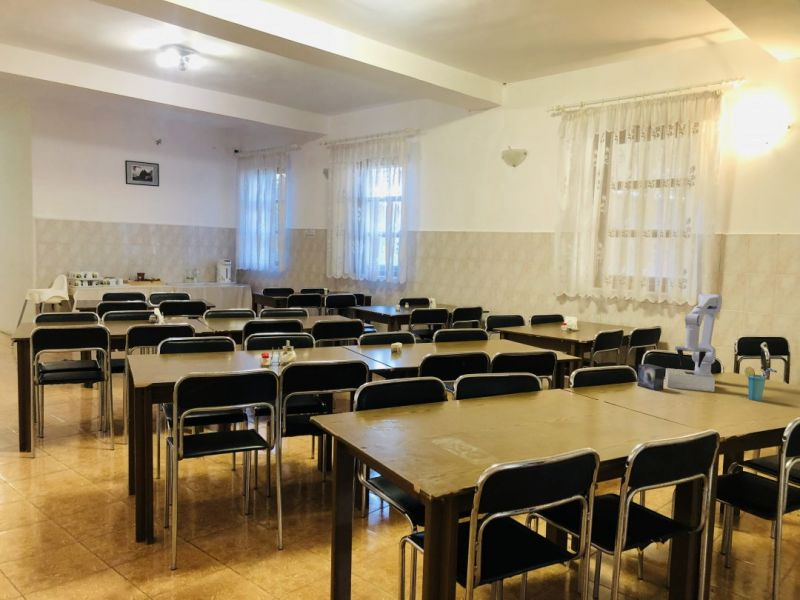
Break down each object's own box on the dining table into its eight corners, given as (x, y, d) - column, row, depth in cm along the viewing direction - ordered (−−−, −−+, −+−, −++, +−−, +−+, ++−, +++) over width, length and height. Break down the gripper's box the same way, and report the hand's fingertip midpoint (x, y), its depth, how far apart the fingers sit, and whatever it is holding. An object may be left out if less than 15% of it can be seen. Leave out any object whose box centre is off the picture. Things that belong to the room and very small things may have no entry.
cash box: (665, 381, 309) (665, 368, 309) (709, 385, 303) (710, 372, 302) (667, 387, 294) (668, 373, 294) (714, 391, 288) (715, 378, 287)
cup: (778, 402, 270) (781, 368, 269) (769, 404, 266) (772, 370, 265) (745, 395, 282) (748, 363, 281) (736, 397, 277) (739, 364, 276)
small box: (636, 385, 295) (637, 364, 295) (646, 385, 298) (647, 363, 297) (653, 390, 286) (655, 368, 285) (663, 389, 289) (665, 367, 288)
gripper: (676, 338, 295) (674, 366, 296) (710, 340, 290) (708, 369, 291) (675, 336, 302) (673, 363, 303) (708, 338, 297) (705, 366, 298)
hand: (690, 366), depth 298 cm, fingers open, 7 cm apart
